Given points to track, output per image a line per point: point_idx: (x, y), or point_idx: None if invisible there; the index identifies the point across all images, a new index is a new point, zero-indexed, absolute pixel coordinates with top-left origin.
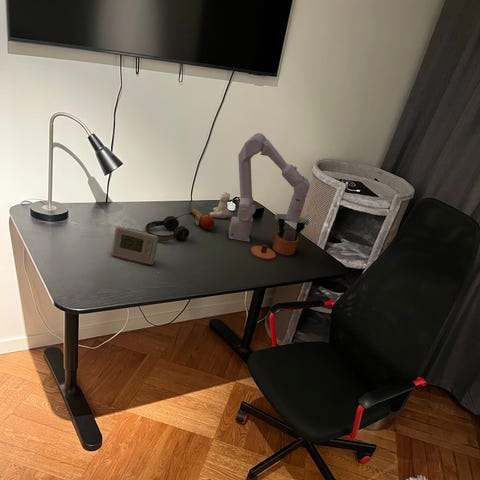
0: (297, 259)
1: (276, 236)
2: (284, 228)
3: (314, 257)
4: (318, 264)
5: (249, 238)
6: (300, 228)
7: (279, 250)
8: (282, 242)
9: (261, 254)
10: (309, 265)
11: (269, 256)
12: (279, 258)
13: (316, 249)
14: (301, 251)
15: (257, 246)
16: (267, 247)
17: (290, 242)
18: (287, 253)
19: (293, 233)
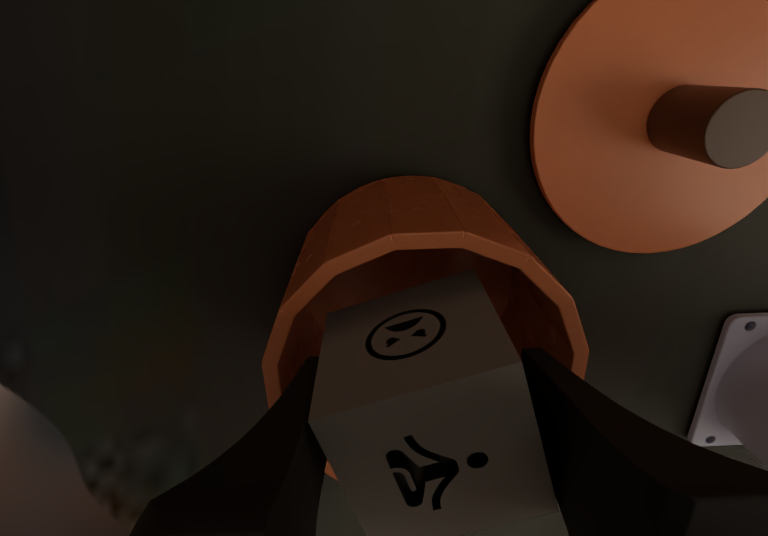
0: (263, 148)
1: (582, 339)
2: (527, 471)
3: (77, 269)
4: (11, 119)
5: (715, 373)
6: (238, 488)
7: (481, 201)
8: (504, 233)
9: (729, 35)
10: (115, 44)
11: (634, 19)
12: (478, 87)
13: (75, 427)
14: (217, 339)
15: (706, 228)
16: (698, 113)
17: (397, 229)
18: (385, 184)
19: (367, 388)
